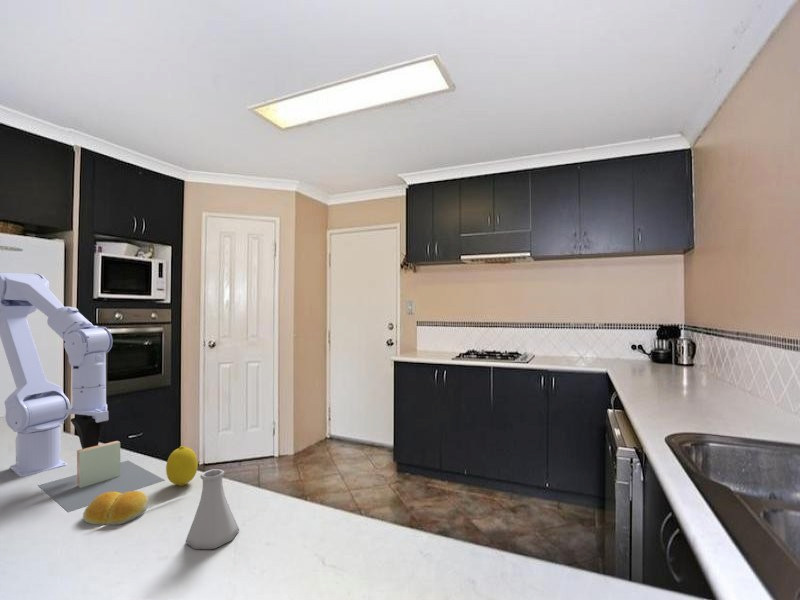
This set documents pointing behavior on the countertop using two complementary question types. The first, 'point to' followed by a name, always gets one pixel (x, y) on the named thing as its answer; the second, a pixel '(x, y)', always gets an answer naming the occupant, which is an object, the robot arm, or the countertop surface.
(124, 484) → the mat
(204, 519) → the flask
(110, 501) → the bread roll
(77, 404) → the robot arm
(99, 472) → the tile
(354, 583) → the countertop surface
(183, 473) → the lemon
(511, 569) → the countertop surface
